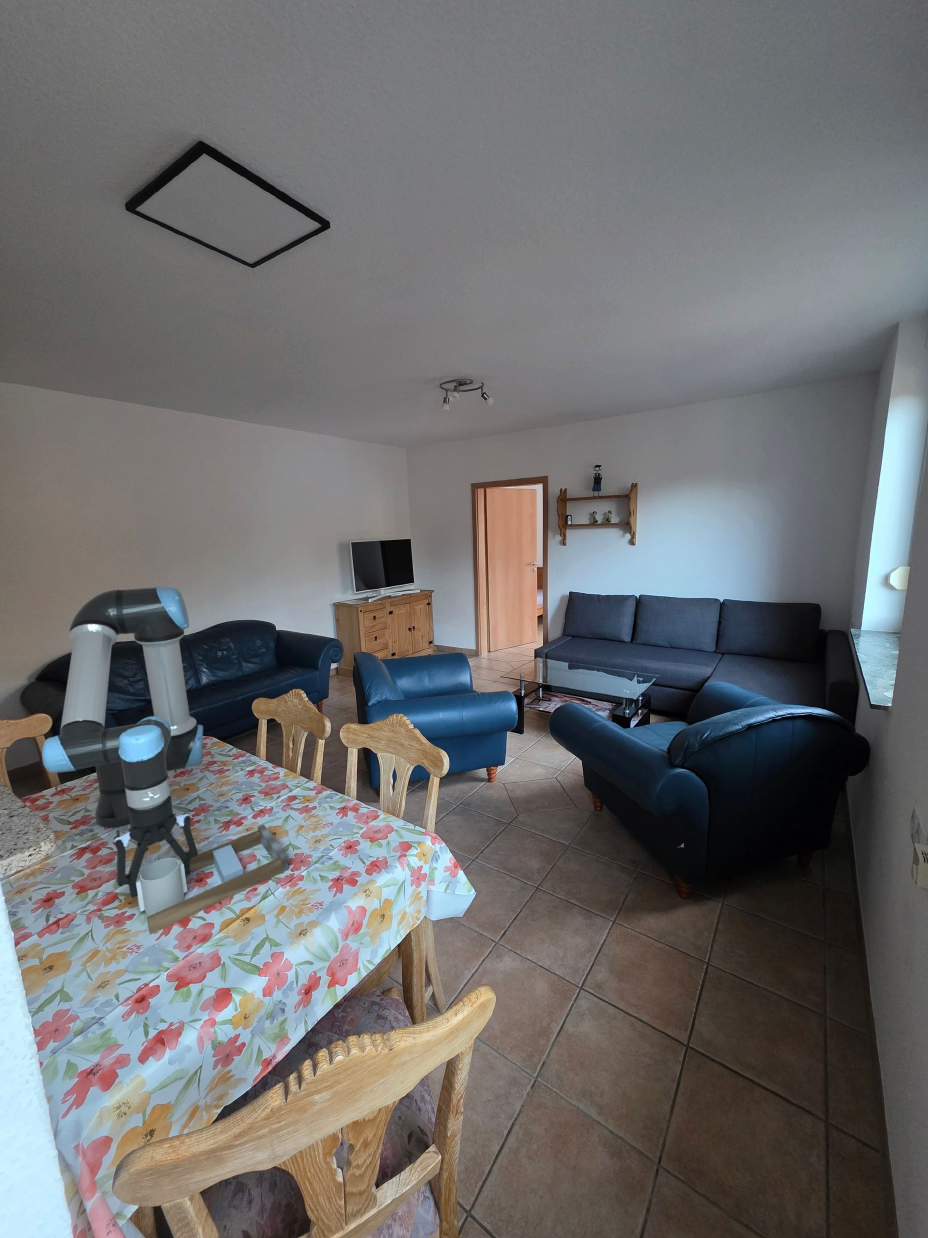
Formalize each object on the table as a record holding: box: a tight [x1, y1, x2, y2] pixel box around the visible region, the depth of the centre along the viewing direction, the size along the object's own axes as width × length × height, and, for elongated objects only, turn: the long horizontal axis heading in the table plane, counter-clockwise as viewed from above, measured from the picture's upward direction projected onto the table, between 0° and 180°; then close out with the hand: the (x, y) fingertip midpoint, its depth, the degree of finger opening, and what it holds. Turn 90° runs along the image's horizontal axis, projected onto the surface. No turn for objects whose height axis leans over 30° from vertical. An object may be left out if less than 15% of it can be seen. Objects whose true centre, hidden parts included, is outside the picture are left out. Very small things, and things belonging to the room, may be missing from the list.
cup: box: [139, 857, 185, 917], centre depth 105 cm, size 7×10×9 cm
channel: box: [139, 823, 289, 935], centre depth 111 cm, size 16×28×4 cm, turn 131°
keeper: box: [213, 845, 245, 884], centre depth 113 cm, size 11×4×4 cm, turn 39°
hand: (163, 898), depth 105 cm, fingers closed on cup, 7 cm apart
